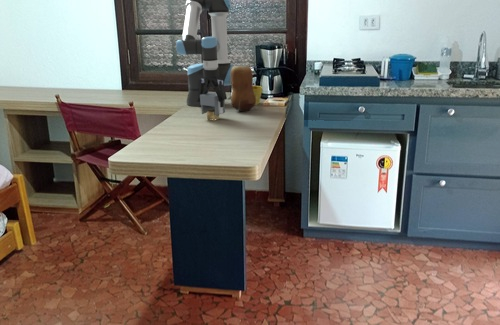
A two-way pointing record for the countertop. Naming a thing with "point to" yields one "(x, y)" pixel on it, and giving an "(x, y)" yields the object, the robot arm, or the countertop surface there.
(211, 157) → the countertop surface
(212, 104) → the grey mini stool
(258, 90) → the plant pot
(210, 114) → the ochre block
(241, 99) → the butternut squash
